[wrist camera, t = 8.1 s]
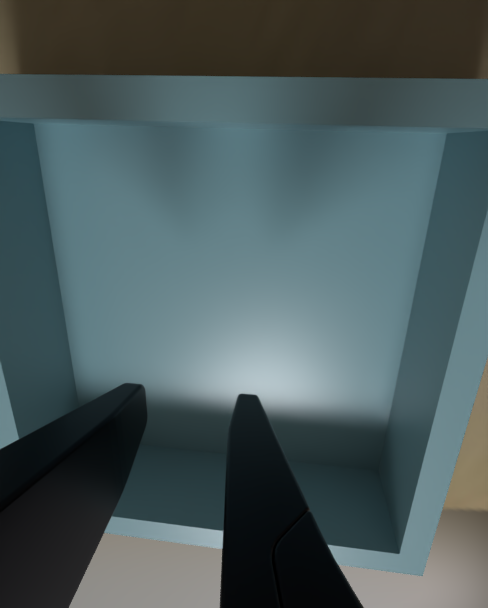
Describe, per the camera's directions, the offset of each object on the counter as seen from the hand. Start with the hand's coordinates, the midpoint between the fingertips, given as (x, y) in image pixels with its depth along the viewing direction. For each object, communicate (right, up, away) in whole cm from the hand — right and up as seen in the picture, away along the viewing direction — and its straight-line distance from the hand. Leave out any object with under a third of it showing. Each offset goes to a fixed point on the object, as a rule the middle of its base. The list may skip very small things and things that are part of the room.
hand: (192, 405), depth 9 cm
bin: (+1, +2, +5) cm, 6 cm away
